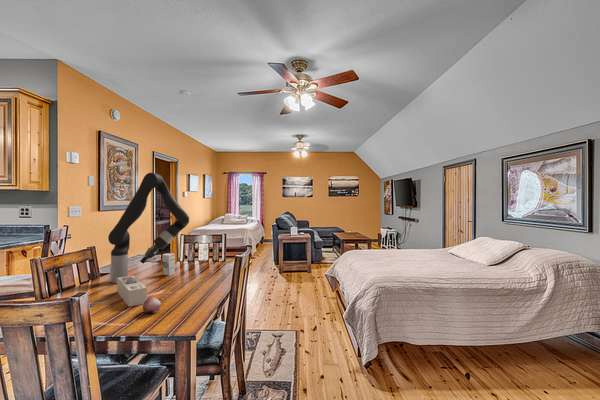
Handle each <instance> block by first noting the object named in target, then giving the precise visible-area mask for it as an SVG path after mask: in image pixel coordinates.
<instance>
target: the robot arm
mask: <svg viewBox="0 0 600 400" xmlns="http://www.w3.org/2000/svg"><path fill="white" fill-rule="evenodd" d="M153 189H155V190H157V192H158V193H159V195H160V196H161V199H162V201H163V204H164V205H165V207H166V208H167V210H168V211H169V213H171V215H173V216H174V217H175V219H176V220H175V221H174V222H173V223H172V224H170V225H168V227H166V228H165V229H164V230H163V231H162V232H161V233H160V234H159V235H158V236H157V237H156V238H155V239H154V240H153V243H154V245H151V246H150V247H148V248H147V250H146V252H145V253H144V256H143V257H142V258H141V260H139V262H140V263H141V264H145V263H146V262H147V261H148V260H149V259H152V258H153V257H155V256H157V254H158V253H159V251H160V250H164V249H165V248H166V247H168V245H169V244H171V242H172V241H173V240H174V239H175V237H176V236H177V235H178V234H179V232H181V231H182V230H183V229H185V228H186V227H187V225H188V224H189V223H190V217H189V215H188V213H187V212H186V211H185V210H184V208H182V206H181V205H180V204H179V202H178V201H177V200H176V198H175V197H174V195H173V194H172V193H171V190H170V189H169V188H168V185H167V183H166V182H165V180H164V178H163V176H162V175H161V174H160V173H156V172H155V173H154V172H148V173H146V174H145V175H144V176H143V177H142V180H141V183H140V185H139V186H138V189H137V191H136V192H135V194H134V195H133V197H132V198H131V200H130V202H129V203H128V205H127V206H126V208H125V211H124V212H123V213H122V215H121V216H120V219H119V220H118V222H117V223H116V224H115V226H114V227H113V229H112V230H111V231H110V233H109V234H108V239H107V240H108V242H109V244H110V245H113V246H114V247H113V248H112V250H111V251H110V267H109V277H110V278H109V280H110V283H111V284H117V278H120V277H127V276H129V250H130V243H131V241H130V239H131V236H130V233H129V231H128V230H129V228H130V227H131V226H132V225H133V224H135V222H136V221H137V220H138V219H140V218H141V216H142V214H143V212H144V211H145V210H146V207H147V202H148V197H149V195H150V193H151V192H152V190H153Z"/></svg>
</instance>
